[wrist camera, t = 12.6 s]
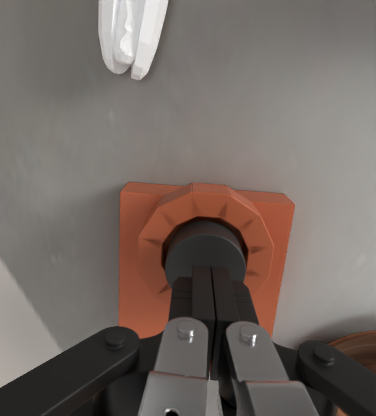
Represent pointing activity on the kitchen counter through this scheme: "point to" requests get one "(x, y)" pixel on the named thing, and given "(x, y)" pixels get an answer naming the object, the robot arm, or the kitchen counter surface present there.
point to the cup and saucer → (358, 351)
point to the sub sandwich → (130, 33)
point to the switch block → (185, 214)
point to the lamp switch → (204, 251)
